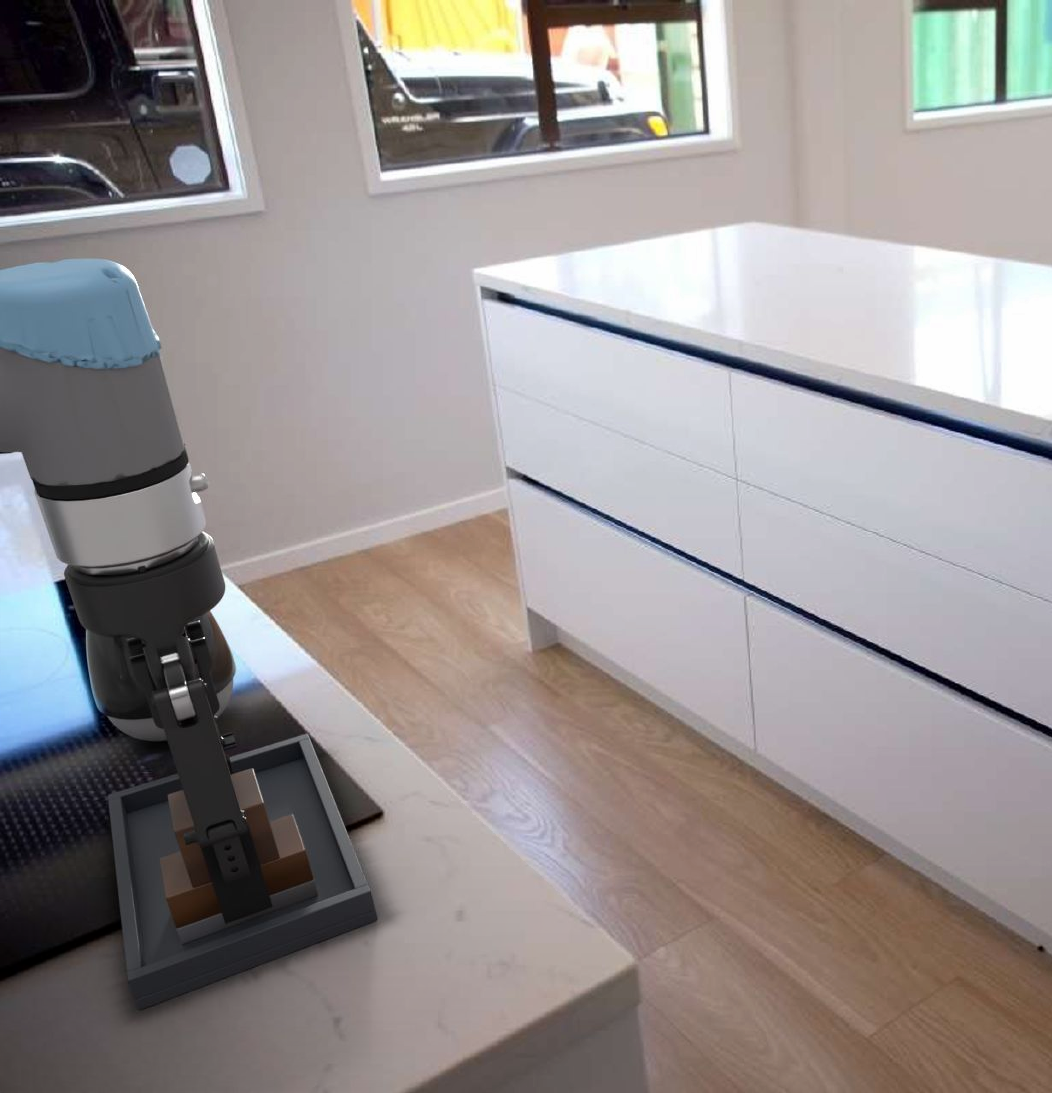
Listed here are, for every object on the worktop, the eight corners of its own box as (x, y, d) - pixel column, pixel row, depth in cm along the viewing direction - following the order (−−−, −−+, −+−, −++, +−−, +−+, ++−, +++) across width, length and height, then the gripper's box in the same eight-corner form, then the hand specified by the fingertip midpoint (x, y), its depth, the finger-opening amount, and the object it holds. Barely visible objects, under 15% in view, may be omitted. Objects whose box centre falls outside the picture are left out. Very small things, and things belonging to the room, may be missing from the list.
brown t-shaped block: (318, 895, 79) (290, 793, 76) (181, 945, 76) (145, 840, 72) (305, 857, 83) (278, 759, 79) (174, 903, 79) (140, 802, 76)
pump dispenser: (165, 686, 106) (113, 524, 100) (272, 694, 104) (227, 528, 98) (77, 754, 97) (15, 579, 91) (193, 763, 95) (138, 585, 89)
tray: (378, 919, 78) (370, 890, 77) (138, 1010, 72) (127, 980, 71) (314, 758, 95) (307, 732, 94) (116, 820, 89) (107, 794, 88)
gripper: (233, 593, 63) (332, 946, 72) (191, 479, 78) (277, 782, 88) (65, 635, 59) (192, 1000, 69) (56, 508, 75) (161, 819, 85)
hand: (239, 877), depth 78 cm, fingers open, 7 cm apart
